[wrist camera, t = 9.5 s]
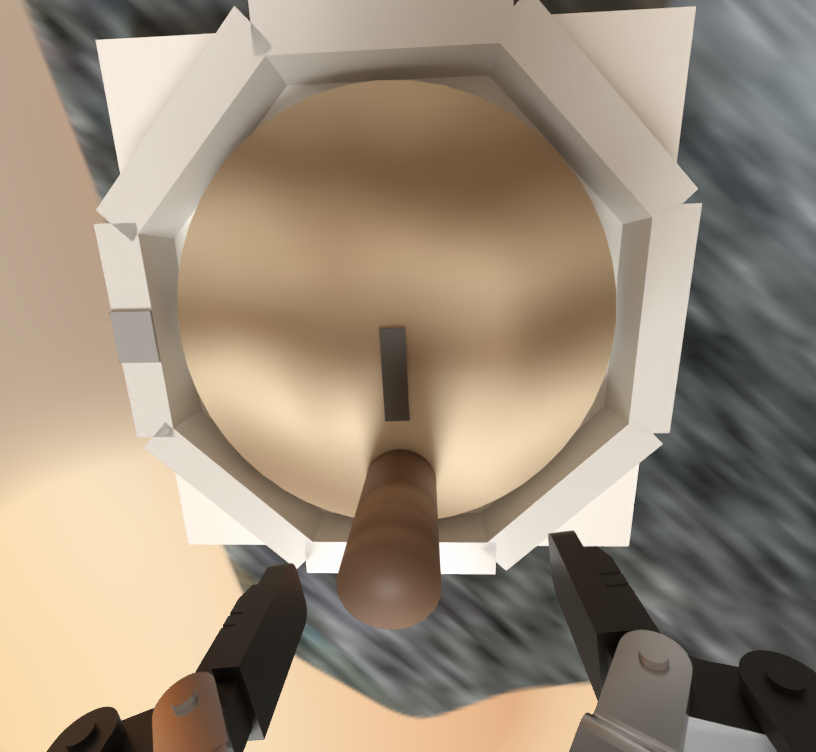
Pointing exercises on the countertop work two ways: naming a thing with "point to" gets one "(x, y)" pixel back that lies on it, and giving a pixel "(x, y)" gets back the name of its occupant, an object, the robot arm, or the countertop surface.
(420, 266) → the dial
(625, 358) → the dial housing
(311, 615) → the countertop surface
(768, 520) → the countertop surface
